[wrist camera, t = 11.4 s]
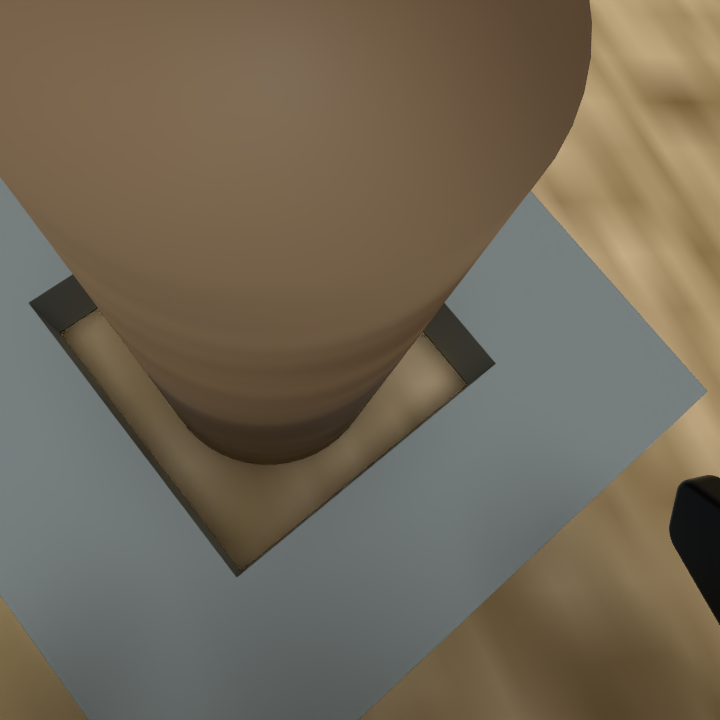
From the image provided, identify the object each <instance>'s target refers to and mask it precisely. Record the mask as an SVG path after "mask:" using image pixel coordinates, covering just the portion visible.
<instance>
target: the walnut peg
mask: <svg viewBox="0 0 720 720" xmlns="http://www.w3.org/2000/svg"><path fill="white" fill-rule="evenodd" d="M591 32H592V20H591V11H590V3H589V0H0V177H1V179H2V180H3V181H4V183H5V184H6V185H7V187H8V188H9V189H10V191H11V192H12V193H13V195H14V196H15V197H16V199H17V200H18V201H19V203H20V204H21V206H22V207H23V208H24V210H25V211H26V212H27V214H28V215H29V216H30V218H31V219H32V220H33V222H34V223H35V224H36V226H37V227H38V228H39V230H40V231H41V232H42V234H43V235H44V236H45V238H46V239H47V240H48V242H49V243H50V244H51V246H52V247H53V248H54V250H55V251H56V252H57V254H58V255H59V256H60V258H61V259H62V260H63V262H64V263H65V264H66V266H67V267H68V268H69V270H70V271H71V272H72V274H73V275H74V276H75V278H76V279H77V280H78V282H79V283H80V284H81V286H82V287H83V288H84V290H85V291H86V293H87V294H88V295H89V297H90V298H91V299H92V301H93V302H94V303H95V305H96V306H97V307H98V309H99V310H100V311H101V313H102V314H103V315H104V317H105V318H106V319H107V321H108V322H109V323H110V325H111V326H112V327H113V329H114V330H115V331H116V333H117V334H118V335H119V337H120V338H121V339H122V341H123V342H124V343H125V345H126V346H127V347H128V349H129V350H130V351H131V353H132V354H133V355H134V357H135V358H136V359H137V361H138V362H139V363H140V365H141V366H142V367H143V369H144V370H145V371H146V373H147V374H148V375H149V377H150V378H151V380H152V381H153V382H154V384H155V385H156V386H157V388H158V389H159V390H160V392H161V393H162V394H163V396H164V397H165V398H166V400H167V401H168V402H169V404H170V405H171V406H172V408H173V409H174V410H175V412H176V413H177V414H178V416H179V417H180V418H181V420H182V421H183V422H184V424H185V425H186V426H187V428H188V429H189V430H190V431H191V432H192V433H193V434H194V435H195V436H196V437H197V438H198V439H199V440H201V441H202V442H203V443H205V444H206V445H207V446H208V447H210V448H212V449H214V450H215V451H217V452H219V453H221V454H223V455H225V456H228V457H230V458H233V459H236V460H239V461H243V462H247V463H254V464H282V463H289V462H293V461H297V460H301V459H304V458H306V457H309V456H311V455H313V454H316V453H317V452H319V451H321V450H323V449H324V448H326V447H328V446H329V445H330V444H332V443H333V442H334V441H336V440H337V439H338V438H339V437H340V436H341V435H342V434H343V433H344V432H345V431H346V430H347V429H348V428H349V427H350V425H351V424H352V423H353V421H354V420H355V419H356V417H357V416H358V415H359V414H360V412H361V411H362V410H363V408H364V407H365V406H366V404H367V403H368V402H369V401H370V399H371V398H372V397H373V395H374V394H375V393H376V391H377V390H378V389H379V387H380V386H381V385H382V384H383V382H384V381H385V380H386V378H387V377H388V376H389V374H390V373H391V372H392V371H393V369H394V368H395V367H396V365H397V364H398V363H399V361H400V360H401V359H402V357H403V356H404V355H405V354H406V352H407V351H408V350H409V348H410V347H411V346H412V344H413V343H414V342H415V341H416V339H417V338H418V337H419V335H420V334H421V333H422V331H423V330H424V329H425V327H426V326H427V325H428V324H429V322H430V321H431V320H432V318H433V317H434V316H435V314H436V313H437V312H438V310H439V309H440V308H441V307H442V305H443V304H444V303H445V301H446V300H447V299H448V297H449V296H450V295H451V294H452V292H453V291H454V290H455V288H456V287H457V286H458V284H459V283H460V282H461V280H462V279H463V278H464V277H465V275H466V274H467V273H468V271H469V270H470V269H471V267H472V266H473V265H474V264H475V262H476V261H477V260H478V258H479V257H480V256H481V254H482V253H483V252H484V250H485V249H486V248H487V247H488V245H489V244H490V243H491V241H492V240H493V239H494V237H495V236H496V235H497V234H498V232H499V231H500V230H501V228H502V227H503V226H504V224H505V223H506V222H507V220H508V219H509V218H510V217H511V215H512V214H513V213H514V211H515V210H516V209H517V207H518V206H519V205H520V204H521V202H522V201H523V200H524V198H525V197H526V196H527V194H528V193H529V192H530V190H531V189H532V188H533V187H534V185H535V184H536V183H537V181H538V180H539V179H540V177H541V176H542V175H543V173H544V172H545V171H546V169H547V168H548V167H549V165H550V164H551V163H552V161H553V160H554V159H555V157H556V155H557V153H558V152H559V150H560V148H561V146H562V144H563V142H564V140H565V139H566V137H567V135H568V133H569V131H570V129H571V127H572V125H573V123H574V120H575V117H576V114H577V111H578V108H579V106H580V103H581V100H582V97H583V94H584V91H585V85H586V80H587V75H588V69H589V64H590V59H591Z"/></svg>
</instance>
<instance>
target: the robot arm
mask: <svg viewBox="0 0 720 720" xmlns="http://www.w3.org/2000/svg"><path fill="white" fill-rule="evenodd" d="M669 532H670V537H671V540H672V543H673V545H674V547H675V549H676V550H677V552H678V554H679V556H680V557H681V559H682V561H683V563H684V564H685V566H686V568H687V569H688V571H689V573H690V575H691V576H692V578H693V580H694V582H695V583H696V585H697V587H698V588H699V590H700V592H701V594H702V595H703V597H704V599H705V601H706V602H707V604H708V606H709V608H710V609H711V611H712V613H713V614H714V616H715V618H716V620H717V621H718V623H719V625H720V478H719V477H716V476H712V475H706V476H701V477H697V478H692V479H688V480H685V481H683V482H682V483H681V484H680V485H679V486H678V489H677V493H676V497H675V502H674V506H673V511H672V515H671V520H670V525H669Z"/></svg>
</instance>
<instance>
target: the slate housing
mask: <svg viewBox="0 0 720 720" xmlns="http://www.w3.org/2000/svg"><path fill="white" fill-rule="evenodd" d="M96 308H98V307H97V306H96V305H95V303H94V302H93V301H92V299H91V298H90V297H89V295H88V294H87V293H86V291H85V290H84V288H83V287H82V286H81V284H80V283H79V282H78V280H77V279H76V278H75V276H74V275H73V274H72V272H71V271H70V270H69V268H68V267H67V266H66V264H65V263H64V262H63V260H62V259H61V258H60V256H59V255H58V254H57V252H56V251H55V250H54V248H53V247H52V246H51V244H50V243H49V242H48V240H47V239H46V238H45V236H44V235H43V234H42V232H41V231H40V230H39V228H38V227H37V226H36V224H35V223H34V222H33V220H32V219H31V218H30V216H29V215H28V214H27V212H26V211H25V210H24V208H23V207H22V206H21V204H20V203H19V201H18V200H17V199H16V197H15V196H14V195H13V193H12V192H11V191H10V189H9V188H8V187H7V185H6V184H5V183H4V181H3V180H2V179H1V177H0V596H1V597H2V599H3V600H4V601H5V603H6V604H7V606H8V607H9V609H10V610H11V611H12V613H13V614H14V616H15V617H16V618H17V620H18V621H19V623H20V624H21V625H22V627H23V628H24V630H25V631H26V633H27V634H28V635H29V637H30V638H31V640H32V641H33V642H34V644H35V645H36V647H37V648H38V649H39V651H40V652H41V654H42V655H43V657H44V658H45V659H46V661H47V662H48V664H49V665H50V666H51V668H52V669H53V671H54V672H55V673H56V675H57V676H58V678H59V679H60V681H61V682H62V683H63V685H64V686H65V688H66V689H67V690H68V692H69V693H70V695H71V696H72V697H73V699H74V700H75V702H76V703H77V705H78V706H79V707H80V709H81V710H82V712H83V713H84V714H85V716H86V717H87V719H88V720H359V719H360V718H361V717H362V716H363V715H364V714H365V713H366V712H367V711H368V710H369V709H370V708H371V707H372V706H374V705H375V704H376V703H377V702H378V701H379V700H380V699H381V698H382V697H383V696H384V695H385V694H386V693H387V692H388V691H389V690H391V689H392V688H393V687H394V686H395V685H396V684H397V683H398V682H399V681H400V680H401V679H402V678H403V677H404V676H405V675H407V674H408V673H409V672H410V671H411V670H412V669H413V668H414V667H415V666H416V665H417V664H418V663H419V662H420V661H421V660H422V659H424V658H425V657H426V656H427V655H428V654H429V653H430V652H431V651H432V650H433V649H434V648H435V647H436V646H437V645H438V644H439V643H441V642H442V641H443V640H444V639H445V638H446V637H447V636H448V635H449V634H450V633H451V632H452V631H453V630H454V629H455V628H456V627H458V626H459V625H460V624H461V623H462V622H463V621H464V620H465V619H466V618H467V617H468V616H469V615H470V614H471V613H472V612H473V611H475V610H476V609H477V608H478V607H479V606H480V605H481V604H482V603H483V602H484V601H485V600H486V599H487V598H488V597H489V596H490V595H492V594H493V593H494V592H495V591H496V590H497V589H498V588H499V587H500V586H501V585H502V584H503V583H504V582H505V581H506V580H508V579H509V578H510V577H511V576H512V575H513V574H514V573H515V572H516V571H517V570H518V569H519V568H520V567H521V566H522V565H523V564H525V563H526V562H527V561H528V560H529V559H530V558H531V557H532V556H533V555H534V554H535V553H536V552H537V551H538V550H539V549H540V548H542V547H543V546H544V545H545V544H546V543H547V542H548V541H549V540H550V539H551V538H552V537H553V536H554V535H555V534H556V533H557V532H559V531H560V530H561V529H562V528H563V527H564V526H565V525H566V524H567V523H568V522H569V521H570V520H571V519H572V518H573V517H574V516H576V515H577V514H578V513H579V512H580V511H581V510H582V509H583V508H584V507H585V506H586V505H587V504H588V503H589V502H590V501H591V500H593V499H594V498H595V497H596V496H597V495H598V494H599V493H600V492H601V491H602V490H603V489H604V488H605V487H606V486H607V485H608V484H610V483H611V482H612V481H613V480H614V479H615V478H616V477H617V476H618V475H619V474H620V473H621V472H622V471H623V470H624V469H626V468H627V467H628V466H629V465H630V464H631V463H632V462H633V461H634V460H635V459H636V458H637V457H638V456H639V455H640V454H641V453H643V452H644V451H645V450H646V449H647V448H648V447H649V446H650V445H651V444H652V443H653V442H654V441H655V440H656V439H657V438H658V437H660V436H661V435H662V434H663V433H664V432H665V431H666V430H667V429H668V428H669V427H670V426H671V425H672V424H673V423H674V422H675V421H677V420H678V419H679V418H680V417H681V416H682V415H683V414H684V413H685V412H686V411H687V410H688V409H689V408H690V407H691V406H692V405H694V404H695V403H696V402H697V401H698V400H699V399H700V398H701V397H702V396H703V395H704V394H705V393H706V392H707V390H706V389H705V388H704V387H703V385H702V384H701V383H700V382H699V381H698V380H697V379H696V378H695V376H694V375H693V374H692V373H691V372H690V371H689V370H688V368H687V367H686V366H685V365H684V364H683V363H682V362H681V361H680V359H679V358H678V357H677V356H676V355H675V354H674V353H673V351H672V350H671V349H670V348H669V347H668V346H667V345H666V344H665V342H664V341H663V340H662V339H661V338H660V337H659V336H658V335H657V333H656V332H655V331H654V330H653V329H652V328H651V327H650V325H649V324H648V323H647V322H646V321H645V320H644V319H643V318H642V316H641V315H640V314H639V313H638V312H637V311H636V310H635V308H634V307H633V306H632V305H631V304H630V303H629V302H628V301H627V299H626V298H625V297H624V296H623V295H622V294H621V293H620V291H619V290H618V289H617V288H616V287H615V286H614V285H613V284H612V282H611V281H610V280H609V279H608V278H607V277H606V276H605V274H604V273H603V272H602V271H601V270H600V269H599V268H598V267H597V265H596V264H595V263H594V262H593V261H592V260H591V259H590V258H589V256H588V255H587V254H586V253H585V252H584V251H583V250H582V248H581V247H580V246H579V245H578V244H577V243H576V242H575V241H574V239H573V238H572V237H571V236H570V235H569V234H568V233H567V231H566V230H565V229H564V228H563V227H562V226H561V225H560V224H559V222H558V221H557V220H556V219H555V218H554V217H553V216H552V214H551V213H550V212H549V211H548V210H547V209H546V208H545V207H544V205H543V204H542V203H541V202H540V201H539V200H538V199H537V198H536V196H535V195H534V194H533V193H532V192H531V191H530V192H529V193H528V194H527V196H526V197H525V198H524V200H523V201H522V202H521V204H520V205H519V206H518V207H517V209H516V210H515V211H514V213H513V214H512V215H511V217H510V218H509V219H508V220H507V222H506V223H505V224H504V226H503V227H502V228H501V230H500V231H499V232H498V234H497V235H496V236H495V237H494V239H493V240H492V241H491V243H490V244H489V245H488V247H487V248H486V249H485V250H484V252H483V253H482V254H481V256H480V257H479V258H478V260H477V261H476V262H475V264H474V265H473V266H472V267H471V269H470V270H469V271H468V273H467V274H466V275H465V277H464V278H463V279H462V280H461V282H460V283H459V284H458V286H457V287H456V288H455V290H454V291H453V292H452V294H451V295H450V296H449V297H448V299H447V300H446V301H445V303H444V304H443V305H442V307H441V308H440V309H439V310H438V312H437V313H436V314H435V316H434V317H433V318H432V320H431V321H430V322H429V324H428V325H427V326H426V327H425V329H424V330H423V331H424V332H425V334H426V335H427V336H428V337H429V338H430V340H431V341H432V342H433V343H434V344H435V346H436V347H437V348H438V349H439V350H440V352H441V353H442V354H443V355H444V356H445V358H446V359H447V360H448V361H449V362H450V364H451V365H452V366H453V367H454V368H455V370H456V371H457V372H458V373H459V374H460V376H461V377H462V378H463V379H464V380H465V382H466V383H467V384H468V385H467V386H466V387H464V388H463V389H462V390H461V391H460V392H458V393H457V394H456V395H455V396H454V397H452V398H451V399H450V400H449V401H447V402H446V403H445V404H444V405H443V406H441V407H440V408H439V409H438V410H437V411H435V412H434V413H433V414H432V415H431V416H429V417H428V418H427V419H426V420H424V421H423V422H422V423H421V424H420V425H418V426H417V427H416V428H415V429H414V430H412V431H411V432H410V433H409V434H407V435H406V436H405V437H404V438H403V439H401V440H400V441H399V442H398V443H397V444H395V445H394V446H393V447H392V448H390V449H389V450H388V451H387V452H386V453H384V454H383V455H382V456H381V457H380V458H378V459H377V460H376V461H375V462H373V463H372V464H371V465H370V466H369V467H367V468H366V469H365V470H364V471H363V472H361V473H360V474H359V475H358V476H357V477H355V478H354V479H353V480H352V481H350V482H349V483H348V484H347V485H346V486H344V487H343V488H342V489H341V490H340V491H338V492H337V493H336V494H335V495H333V496H332V497H331V498H330V499H329V500H327V501H326V502H325V503H324V504H323V505H321V506H320V507H319V508H318V509H316V510H315V511H314V512H313V513H312V514H310V515H309V516H308V517H307V518H306V519H304V520H303V521H302V522H301V523H300V524H298V525H297V526H296V527H295V528H293V529H292V530H291V531H290V532H289V533H287V534H286V535H285V536H284V537H283V538H281V539H280V540H279V541H278V542H276V543H275V544H274V545H273V546H272V547H270V548H269V549H268V550H267V551H266V552H264V553H263V554H262V555H261V556H259V557H258V558H257V559H256V560H255V561H253V562H252V563H251V564H250V565H249V566H247V567H246V568H245V569H244V570H243V571H240V570H239V569H238V567H237V566H236V565H235V563H234V562H233V561H232V559H231V558H230V557H229V555H228V554H227V553H226V552H225V550H224V549H223V548H222V546H221V545H220V544H219V542H218V541H217V540H216V538H215V537H214V536H213V534H212V533H211V532H210V530H209V529H208V528H207V526H206V525H205V524H204V523H203V521H202V520H201V519H200V517H199V516H198V515H197V513H196V512H195V511H194V509H193V508H192V507H191V505H190V504H189V503H188V501H187V500H186V499H185V498H184V496H183V495H182V494H181V492H180V491H179V490H178V488H177V487H176V486H175V484H174V483H173V482H172V480H171V479H170V478H169V476H168V475H167V474H166V473H165V471H164V470H163V469H162V467H161V466H160V465H159V463H158V462H157V461H156V459H155V458H154V457H153V455H152V454H151V453H150V451H149V450H148V449H147V447H146V446H145V445H144V444H143V442H142V441H141V440H140V438H139V437H138V436H137V434H136V433H135V432H134V430H133V429H132V428H131V426H130V425H129V424H128V422H127V421H126V420H125V419H124V417H123V416H122V415H121V413H120V412H119V411H118V409H117V408H116V407H115V405H114V404H113V403H112V401H111V400H110V399H109V397H108V396H107V395H106V394H105V392H104V391H103V390H102V388H101V387H100V386H99V384H98V383H97V382H96V380H95V379H94V378H93V376H92V375H91V374H90V372H89V371H88V370H87V368H86V367H85V366H84V365H83V363H82V362H81V361H80V359H79V358H78V357H77V355H76V354H75V353H74V351H73V350H72V349H71V347H70V346H69V345H68V343H67V342H66V341H65V340H64V338H63V337H62V336H61V334H60V332H62V331H63V330H65V329H66V328H68V327H69V326H71V325H72V324H74V323H75V322H77V321H78V320H80V319H81V318H83V317H84V316H86V315H87V314H89V313H90V312H92V311H93V310H95V309H96Z"/></svg>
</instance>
